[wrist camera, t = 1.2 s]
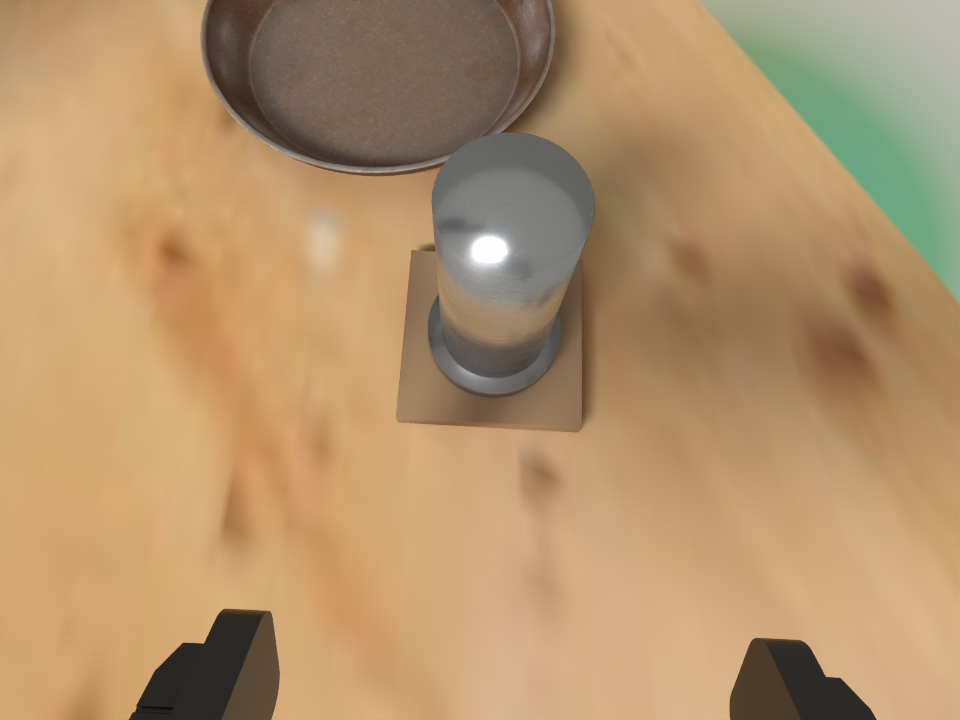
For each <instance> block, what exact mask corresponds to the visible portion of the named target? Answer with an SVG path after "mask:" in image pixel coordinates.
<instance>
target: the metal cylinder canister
mask: <svg viewBox="0 0 960 720" xmlns="http://www.w3.org/2000/svg"><path fill="white" fill-rule="evenodd" d="M594 211H595V201H594V195H593V190H592V187H591V184H590V181H589V179H588V177H587V175H586V173H585V172H584V170H583V169H582V167H581V166H580V164H579V163H578V162H577V161H576V160H575V159H574V158H573V157H572V156H571V155H570V154H569V153H568V152H567V151H565V150H564V149H562V148H561V147H559V146H558V145H556V144H554V143H552V142H551V141H548V140H546V139H543V138H541V137H538V136H534V135H530V134H524V133H514V132H507V133H496V134H490V135H487V136H483V137H480V138H478V139H475V140H473V141H471V142H469V143H467V144H465V145H464V146H462V147H461V148H459V149H458V150H457V151H456V152H454V153H453V154H452V155H451V156H450V157H449V158H448V159H447V161H446V162H445V163H444V165H443V166H442V168H441V169H440V171H439V173H438V175H437V177H436V180H435V183H434V187H433V191H432V213H433V226H434V239H435V252H436V265H437V278H438V291H439V294H438V296H437V297H436V299H435V301H434V303H433V304H432V307H431V310H430V313H429V318H428V328H427V329H428V340H429V346H430V351H431V354H432V357H433V359H434V361H435V363H436V365H437V367H438V368H439V370H440V371H441V373H442V374H443V375H444V376H445V377H446V378H447V379H448V380H449V381H450V382H451V383H452V384H454V385H455V386H457V387H458V388H460V389H461V390H463V391H466V392H468V393H470V394H473V395H477V396H481V397H487V398H500V397H507V396H512V395H515V394H518V393H521V392H523V391H525V390H527V389H528V388H530V387H531V386H533V385H534V384H536V383H537V382H538V381H539V380H540V379H541V378H542V377H543V376H544V374H545V373H546V372H547V370H548V369H549V367H550V366H551V364H552V362H553V359H554V357H555V355H556V353H557V350H558V347H559V343H560V337H561V324H560V317H559V314H558V310H559V307H560V305H561V302H562V300H563V297H564V295H565V292H566V290H567V287H568V285H569V282H570V280H571V277H572V275H573V272H574V269H575V267H576V264H577V262H578V259H579V257H580V254H581V252H582V249H583V247H584V244H585V242H586V239H587V237H588V234H589V232H590V229H591V226H592V222H593V219H594Z"/></svg>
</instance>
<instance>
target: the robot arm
mask: <svg viewBox="0 0 960 720" xmlns="http://www.w3.org/2000/svg"><path fill="white" fill-rule="evenodd" d="M279 677H280V671H279V662H278V655H277V647H276V640H275V632H274V625H273V618H272V614H271V612H270V611H259V610H240V609H223V610H222V611H221V612H220V613H219V614H218V616H217V618H216V620H215V622H214V624H213V626H212V628H211V630H210V632H209V634H208V636H207V639H206V641H205V643H204V644H200V643H182V644H181V645H180V646H179V647H178V648H177V649H176V650H175V651H174V652H173V653H172V654H171V655H170V656H169V657H168V658H167V659H166V660H165V661H164V662H163V663H162V664H161V665H160V666H159V667H158V668H157V669H156V670H155V672H154V673H153V675H152V677H151V679H150V681H149V683H148V685H147V687H146V689H145V690H144V692H143V694H142V696H141V698H140V700H139V702H138V704H137V705H136V706H137V708H136V711H135V713H134V712H133V713H132V715H131V717H130V719H129V720H271V718H272V715H273V712H274V709H275V705H276V700H277V695H278V689H279ZM730 720H876V718H875V716H874V714H873V713H872V711H871V709H870V708H869V707H868V706H867V705H866V704H865V703H864V702H863V701H862V700H861V699H860V698H859V697H858V696H857V695H856V694H855V693H854V692H853V691H852V689H851V688H850V687H849V686H848V685H847V684H846V683H845V682H844V681H843V680H842V679H841V678H833V677H826V676H825V675H824V673H823V671H822V669H821V667H820V665H819V663H818V661H817V659H816V658H815V656H814V654H813V652H812V650H811V649H810V647H809V646H808V645H807V644H806V643H805V642H803V641H801V640H788V639H769V638H754V639H753V640H752V641H751V643H750V645H749V647H748V650H747V653H746V655H745V658H744V661H743V664H742V666H741V669H740V672H739V674H738V677H737V680H736V682H735V685H734V688H733V690H732V693H731V697H730Z"/></svg>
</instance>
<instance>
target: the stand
mask: <svg viewBox="0 0 960 720" xmlns="http://www.w3.org/2000/svg"><path fill="white" fill-rule="evenodd" d="M438 294H439V291H438V278H437V265H436V252H434V251H418V250H412V252H411V262H410V273H409V284H408V295H407V305H406V316H405V327H404V338H403V349H402V359H401V370H400V381H399V392H398V402H397V413H396V418H397V421H398V422H401V423H419V424H437V425H456V426H474V427H492V428H510V429H528V430H546V431H564V432H578V431H579V430H580V429H581V428H582V260H578V262H577V264H576V267H575V269H574V272H573V275H572V277H571V280H570V282H569V285H568V287H567V290H566V292H565V295H564V297H563V300H562V302H561V305H560V307H559V310H558V314H559V317H560V324H561V337H560V343H559V347H558V350H557V353H556V355H555V357H554V359H553V362H552V364H551V366H550V367H549V369H548V370H547V372H546V373H545V374H544V376H543V377H542V378H541V379H540V380H539V381H538V382H537V383H536V384H534V385H533V386H531V387H530V388H528V389H527V390H525V391H523V392H521V393H518V394H515V395H512V396H507V397H500V398H487V397H481V396H477V395H473V394H470V393H468V392H466V391H463V390H461V389H460V388H458V387H457V386H455V385H454V384H452V383H451V382H450V381H449V380H448V379H447V378H446V377H445V376H444V375H443V374H442V373H441V371H440V370H439V368H438V367H437V365H436V363H435V361H434V359H433V357H432V354H431V351H430V346H429V340H428V329H427V328H428V318H429V313H430V310H431V307H432V304H433V303H434V301H435V299H436V297H437V296H438Z"/></svg>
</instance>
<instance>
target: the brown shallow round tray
mask: <svg viewBox="0 0 960 720" xmlns="http://www.w3.org/2000/svg"><path fill="white" fill-rule="evenodd" d="M555 35H556V32H555V18H554V11H553V6H552V3H551V0H208V1H207V4H206V6H205V10H204V14H203V19H202V23H201V53H202V59H203V64H204V68H205V71H206V74H207V77H208V79H209V82H210V84H211V86H212V88H213V90H214V92H215V94H216V96H217V97H218V99H219V100H220V102H221V103H222V105H223V106H224V107H225V108H226V110H227V111H228V112H229V113H230V115H231V116H232V117H233V118H234V119H235V120H236V121H237V122H238V123H239V124H240V125H241V126H242V127H244V128H245V129H246V130H247V131H248V132H249V133H251V134H252V135H253V136H255V137H256V138H257V139H259V140H260V141H262V142H263V143H265V144H266V145H268V146H270V147H271V148H273V149H275V150H277V151H279V152H281V153H283V154H285V155H287V156H289V157H291V158H293V159H296V160H298V161H301V162H304V163H306V164H309V165H312V166H315V167H318V168H322V169H325V170H329V171H334V172H339V173H346V174H352V175H362V176H394V175H404V174H411V173H416V172H421V171H425V170H429V169H432V168H435V167H439V166H442V165H444V163H445V162H446V161H447V159H448V158H449V157H450V156H451V155H452V154H453V153H454V152H456V151H457V150H458V149H459V148H461V147H462V146H464V145H465V144H467V143H469V142H471V141H473V140H475V139H478V138H480V137H483V136H487V135H490V134H496V133H501V132H503V131H504V130H505V129H506V128H507V127H508V126H510V125H511V124H512V123H513V122H514V121H515V120H516V119H517V118H518V117H519V116H520V115H521V114H522V112H523V111H524V110H525V109H526V108H527V107H528V105H529V104H530V103H531V101H532V100H533V99H534V97H535V95H536V94H537V92H538V91H539V89H540V87H541V86H542V84H543V82H544V79H545V77H546V75H547V73H548V70H549V67H550V64H551V61H552V57H553V53H554V46H555Z"/></svg>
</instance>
